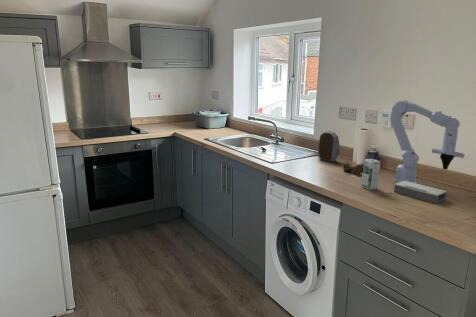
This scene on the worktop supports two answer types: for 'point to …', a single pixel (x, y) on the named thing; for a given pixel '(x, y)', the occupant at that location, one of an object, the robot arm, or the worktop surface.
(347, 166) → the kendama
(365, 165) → the syrup box
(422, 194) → the cable duct
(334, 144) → the grey rounded bag
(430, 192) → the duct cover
